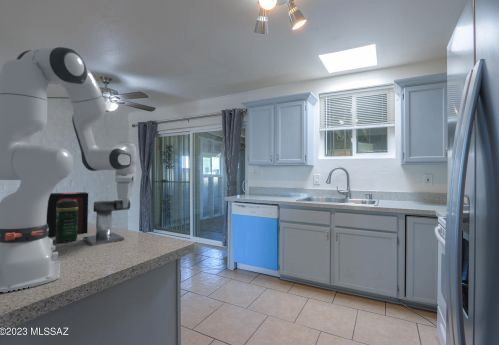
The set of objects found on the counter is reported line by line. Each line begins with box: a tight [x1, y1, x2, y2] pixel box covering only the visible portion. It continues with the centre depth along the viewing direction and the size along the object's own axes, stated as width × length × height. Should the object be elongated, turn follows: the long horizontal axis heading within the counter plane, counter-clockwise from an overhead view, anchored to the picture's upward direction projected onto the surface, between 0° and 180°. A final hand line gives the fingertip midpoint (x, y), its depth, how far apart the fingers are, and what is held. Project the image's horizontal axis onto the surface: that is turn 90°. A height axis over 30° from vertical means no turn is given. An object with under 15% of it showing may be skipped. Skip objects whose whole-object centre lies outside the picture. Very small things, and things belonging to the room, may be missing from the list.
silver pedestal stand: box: [82, 211, 125, 246], centre depth 117 cm, size 13×13×13 cm
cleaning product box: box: [47, 191, 89, 238], centre depth 127 cm, size 16×9×20 cm, turn 130°
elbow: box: [93, 199, 131, 213], centre depth 119 cm, size 15×8×5 cm, turn 137°
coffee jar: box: [54, 199, 78, 243], centre depth 115 cm, size 10×8×19 cm
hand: (125, 207), depth 119 cm, fingers closed
